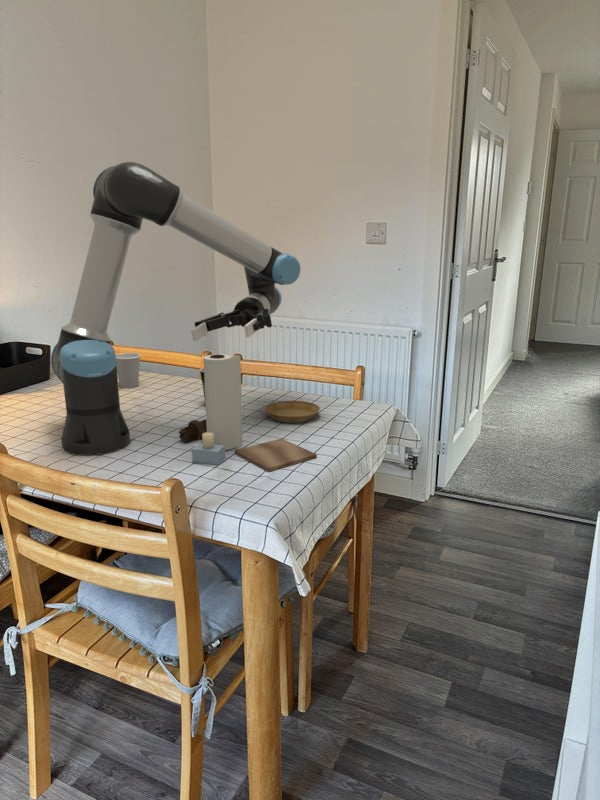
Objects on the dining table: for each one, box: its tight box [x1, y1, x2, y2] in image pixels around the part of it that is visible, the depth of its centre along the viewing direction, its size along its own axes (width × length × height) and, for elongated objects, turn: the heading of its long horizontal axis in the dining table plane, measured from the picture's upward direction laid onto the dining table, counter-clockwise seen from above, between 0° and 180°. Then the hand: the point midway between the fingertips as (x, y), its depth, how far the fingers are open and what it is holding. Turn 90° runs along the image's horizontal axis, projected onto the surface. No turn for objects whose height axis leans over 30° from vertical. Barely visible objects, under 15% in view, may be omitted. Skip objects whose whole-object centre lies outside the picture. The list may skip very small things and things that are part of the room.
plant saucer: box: [264, 400, 321, 424], centre depth 157 cm, size 15×15×3 cm
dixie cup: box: [115, 352, 141, 389], centre depth 186 cm, size 8×8×10 cm
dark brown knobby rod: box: [178, 418, 207, 442], centre depth 143 cm, size 6×5×15 cm
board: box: [234, 438, 318, 473], centre depth 130 cm, size 13×13×1 cm
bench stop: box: [191, 432, 226, 466], centre depth 126 cm, size 4×6×6 cm, turn 75°
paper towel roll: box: [203, 353, 243, 451], centre depth 132 cm, size 7×6×21 cm
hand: (219, 333), depth 136 cm, fingers open, 13 cm apart
